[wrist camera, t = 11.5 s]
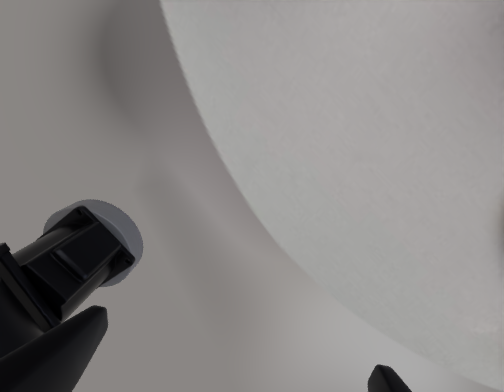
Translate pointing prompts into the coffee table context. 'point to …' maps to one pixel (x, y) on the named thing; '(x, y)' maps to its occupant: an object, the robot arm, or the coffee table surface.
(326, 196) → the coffee table surface
